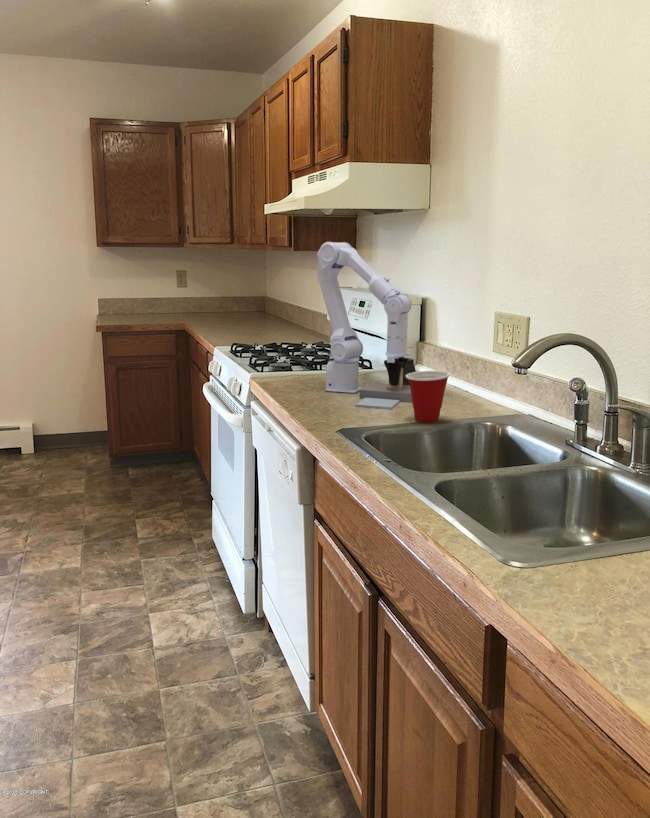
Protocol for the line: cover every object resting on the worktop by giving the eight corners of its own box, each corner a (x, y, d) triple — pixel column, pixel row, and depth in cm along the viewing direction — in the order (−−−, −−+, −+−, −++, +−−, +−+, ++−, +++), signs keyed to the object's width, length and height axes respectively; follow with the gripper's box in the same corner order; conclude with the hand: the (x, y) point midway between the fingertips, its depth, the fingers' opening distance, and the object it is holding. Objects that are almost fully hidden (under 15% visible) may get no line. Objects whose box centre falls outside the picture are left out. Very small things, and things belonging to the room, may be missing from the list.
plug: (388, 396, 206) (389, 368, 205) (390, 394, 210) (391, 367, 208) (399, 397, 205) (400, 369, 204) (402, 394, 208) (403, 367, 207)
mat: (355, 406, 194) (355, 404, 194) (365, 399, 203) (365, 397, 203) (391, 409, 191) (391, 407, 191) (399, 402, 200) (399, 400, 200)
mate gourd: (415, 381, 232) (416, 351, 230) (416, 385, 224) (417, 354, 222) (393, 381, 233) (394, 350, 230) (393, 385, 225) (394, 353, 223)
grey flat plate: (359, 398, 205) (359, 389, 204) (370, 390, 216) (370, 382, 215) (421, 403, 199) (421, 394, 199) (429, 395, 210) (429, 386, 210)
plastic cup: (399, 415, 184) (401, 369, 181) (440, 414, 185) (442, 369, 182) (409, 425, 173) (411, 377, 171) (452, 424, 175) (455, 376, 172)
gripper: (405, 340, 196) (403, 389, 199) (416, 335, 209) (414, 380, 212) (380, 339, 198) (379, 387, 201) (392, 334, 211) (391, 379, 214)
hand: (395, 384), depth 207 cm, fingers closed on plug, 3 cm apart
